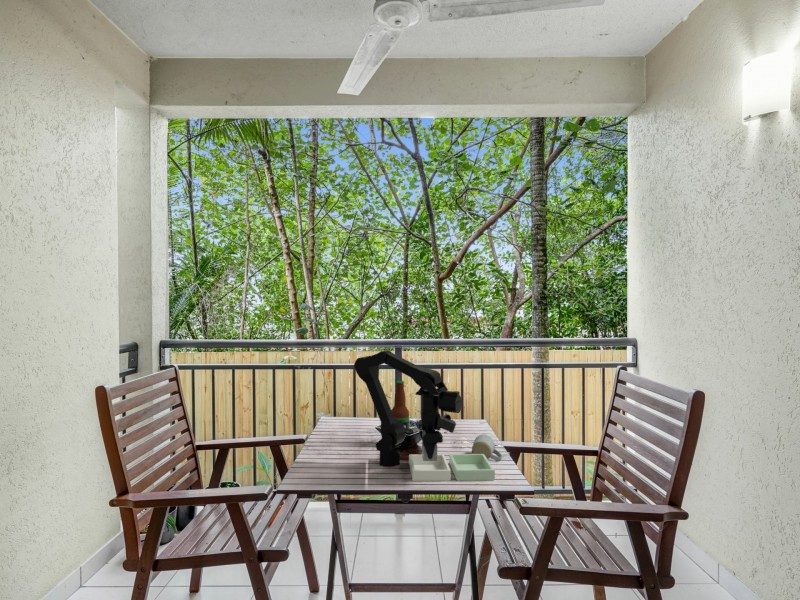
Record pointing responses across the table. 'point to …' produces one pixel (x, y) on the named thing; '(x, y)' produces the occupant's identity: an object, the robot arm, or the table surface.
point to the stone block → (424, 454)
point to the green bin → (471, 467)
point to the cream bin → (429, 468)
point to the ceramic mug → (486, 447)
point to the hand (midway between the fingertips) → (429, 456)
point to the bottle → (400, 405)
